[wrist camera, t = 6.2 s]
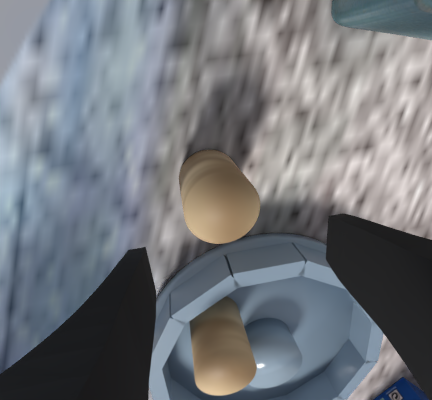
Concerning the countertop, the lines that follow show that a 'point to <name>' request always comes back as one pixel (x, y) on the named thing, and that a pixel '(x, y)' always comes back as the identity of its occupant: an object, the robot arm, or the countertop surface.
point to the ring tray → (268, 321)
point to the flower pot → (386, 16)
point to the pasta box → (402, 392)
